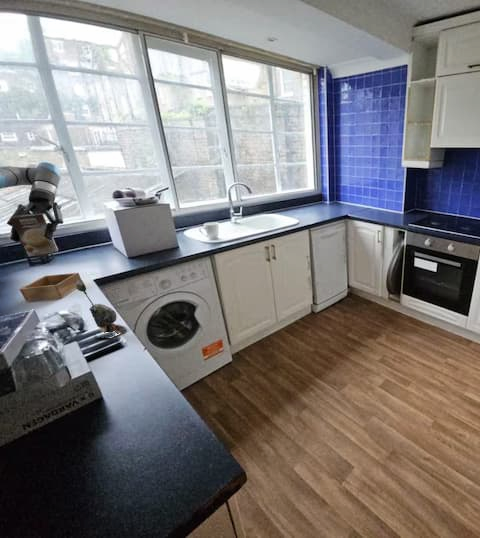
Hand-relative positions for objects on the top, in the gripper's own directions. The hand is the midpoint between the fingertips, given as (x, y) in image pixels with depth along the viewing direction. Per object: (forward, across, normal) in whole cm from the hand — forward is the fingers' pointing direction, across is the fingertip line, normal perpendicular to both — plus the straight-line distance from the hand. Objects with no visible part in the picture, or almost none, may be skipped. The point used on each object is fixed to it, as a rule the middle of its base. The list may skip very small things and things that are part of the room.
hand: (31, 239), depth 119 cm
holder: (-14, +31, -47) cm, 58 cm away
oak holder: (+19, -2, -14) cm, 23 cm away
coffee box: (+3, 0, -7) cm, 7 cm away
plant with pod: (+49, -43, +16) cm, 67 cm away
